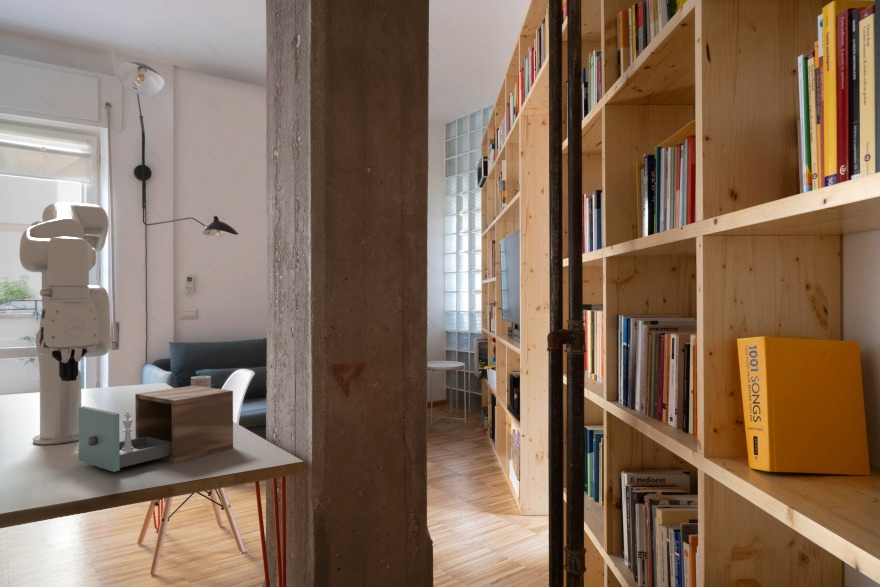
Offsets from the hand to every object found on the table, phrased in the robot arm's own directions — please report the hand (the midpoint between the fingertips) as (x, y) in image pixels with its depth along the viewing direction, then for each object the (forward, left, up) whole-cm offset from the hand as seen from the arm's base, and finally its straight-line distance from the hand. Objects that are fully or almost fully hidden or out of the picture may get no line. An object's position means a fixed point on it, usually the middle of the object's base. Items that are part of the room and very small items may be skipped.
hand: (68, 380), depth 124 cm
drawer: (0, +12, -20) cm, 23 cm away
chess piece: (0, +13, -19) cm, 23 cm away
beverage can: (-20, +45, -21) cm, 54 cm away
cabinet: (0, +27, -21) cm, 34 cm away
